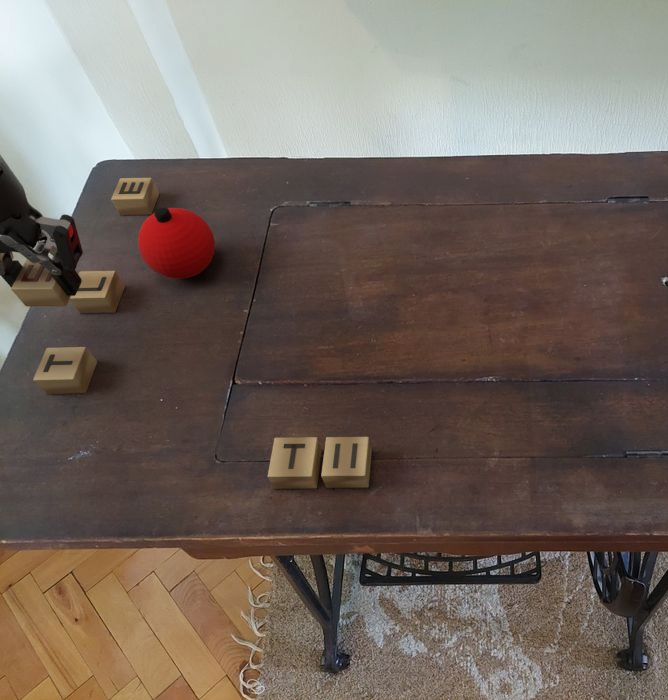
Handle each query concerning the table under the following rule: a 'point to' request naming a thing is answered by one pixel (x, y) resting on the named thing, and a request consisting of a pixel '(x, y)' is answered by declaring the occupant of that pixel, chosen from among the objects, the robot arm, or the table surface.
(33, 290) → the tile
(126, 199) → the far tile
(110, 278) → the letter l tile
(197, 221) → the ornament
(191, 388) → the table surface
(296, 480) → the near tile
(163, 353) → the table surface
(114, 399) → the table surface
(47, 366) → the letter t tile
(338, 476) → the near tile
